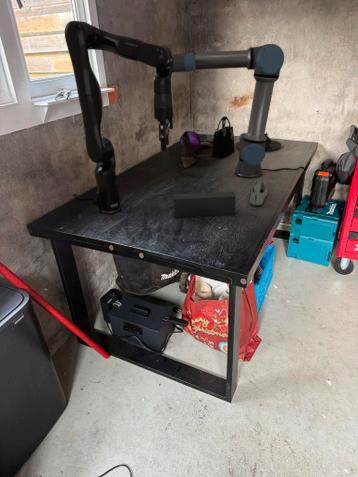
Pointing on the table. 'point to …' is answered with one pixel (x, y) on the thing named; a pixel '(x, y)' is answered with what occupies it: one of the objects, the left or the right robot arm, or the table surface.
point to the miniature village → (268, 144)
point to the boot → (187, 151)
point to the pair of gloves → (207, 141)
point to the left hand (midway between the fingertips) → (165, 147)
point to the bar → (204, 204)
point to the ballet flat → (258, 193)
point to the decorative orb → (193, 141)
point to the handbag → (223, 140)
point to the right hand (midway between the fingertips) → (167, 131)
